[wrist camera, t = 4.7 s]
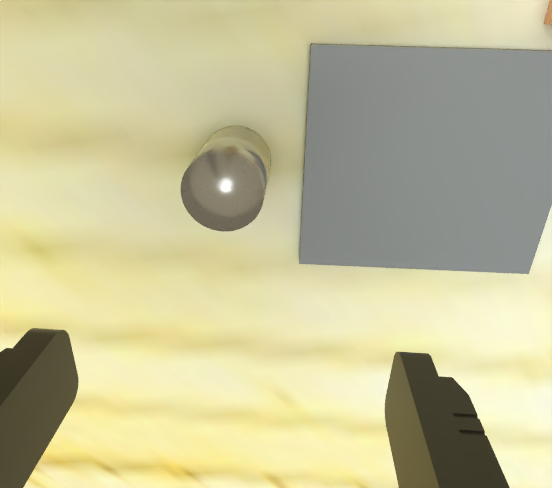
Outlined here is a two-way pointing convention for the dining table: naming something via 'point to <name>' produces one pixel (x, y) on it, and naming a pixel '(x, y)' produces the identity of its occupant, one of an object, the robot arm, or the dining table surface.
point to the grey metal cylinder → (227, 179)
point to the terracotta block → (549, 14)
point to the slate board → (427, 157)
